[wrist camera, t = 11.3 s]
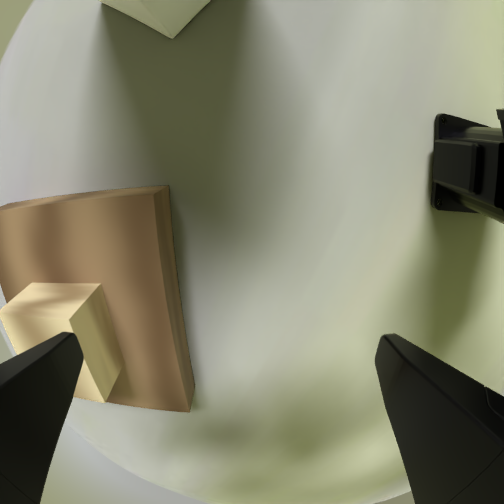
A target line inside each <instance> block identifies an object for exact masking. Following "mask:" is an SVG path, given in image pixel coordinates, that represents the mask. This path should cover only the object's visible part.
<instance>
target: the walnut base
mask: <svg viewBox="0 0 504 504" xmlns="http://www.w3.org/2000/svg"><path fill="white" fill-rule="evenodd" d="M31 283H94V284H101V286H102V290H103V294H104V297H105V301H106V305H107V308H108V312H109V315H110V318H111V322H112V325H113V328H114V331H115V334H116V337H117V340H118V343H119V346H120V349H121V352H122V355H123V358H124V361H125V362H124V364H123V366H122V369H121V371H120V373H119V375H118V377H117V379H116V381H115V383H114V385H113V387H112V390H111V392H110V394H109V396H108V398H107V400H106V402H109V403H115V404H121V405H127V406H134V407H141V408H148V409H157V410H166V411H177V412H190V409H191V403H192V398H193V393H194V388H195V383H194V378H193V373H192V368H191V362H190V357H189V351H188V345H187V339H186V333H185V327H184V320H183V313H182V307H181V300H180V292H179V285H178V277H177V269H176V260H175V251H174V241H173V231H172V220H171V208H170V195H169V185H166V186H151V187H138V188H126V189H115V190H105V191H95V192H86V193H77V194H69V195H62V196H54V197H47V198H40V199H34V200H27V201H21V202H15V203H9V204H6V205H4V206H1V207H0V284H1V288H2V291H3V294H4V297H5V299H6V302H7V303H8V302H9V301H11V300H12V299H13V298H14V297H15V296H16V295H18V294H19V293H20V292H21V291H22V290H24V289H25V288H26V287H27V286H28V285H30V284H31Z"/></svg>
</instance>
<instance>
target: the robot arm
mask: <svg viewBox="0 0 504 504" xmlns="http://www.w3.org/2000/svg"><path fill="white" fill-rule="evenodd" d="M496 111H497V116H498V119H499V120H500V123H501V128H491V127H488V126H485V125H482V124H479V123H476V122H472V121H469V120H466V119H462V118H459V117H455V116H452V115H448V114H438V115H437V116H436V119H435V143H434V165H433V187H432V197H431V205H432V207H433V208H435V209H437V210H445V211H459V212H472V213H481V214H483V215H486V216H488V217H490V218H492V219H494V220H497V221H499V222H501V223H503V224H504V109H496ZM442 118H443V120H444V124H443V123H442ZM438 200H439V204H438V205H437V201H438ZM83 361H84V354H83V351H82V349H81V346H80V343H79V341H78V338H77V336H76V334H75V333H73V332H61V333H59V334H57V335H55V336H53V337H51V338H50V339H48V340H46V341H44V342H42V343H40V344H38V345H36V346H34V347H32V348H30V349H28V350H26V351H24V352H22V353H20V354H19V355H17V356H15V357H13V358H11V359H9V360H7V361H5V362H3V363H2V364H0V504H40V501H41V497H42V493H43V489H44V485H45V482H46V478H47V474H48V471H49V467H50V464H51V461H52V457H53V454H54V451H55V448H56V444H57V442H58V439H59V436H60V433H61V430H62V427H63V424H64V421H65V419H66V416H67V413H68V410H69V408H70V405H71V402H72V399H73V396H74V392H75V389H76V385H77V382H78V378H79V375H80V371H81V368H82V365H83ZM375 366H376V370H377V374H378V378H379V382H380V387H381V391H382V395H383V400H384V404H385V407H386V411H387V414H388V417H389V420H390V423H391V425H392V428H393V431H394V434H395V437H396V441H397V444H398V447H399V450H400V453H401V456H402V460H403V463H404V466H405V469H406V473H407V476H408V480H409V483H410V487H411V490H412V494H413V498H414V501H415V504H504V396H502V395H500V394H498V393H496V392H495V391H493V390H491V389H490V388H488V387H484V385H483V384H481V383H479V382H478V381H476V380H474V379H472V378H471V377H469V376H467V375H466V374H464V373H462V372H460V371H459V370H457V369H455V368H454V367H452V366H450V365H448V364H447V363H445V362H443V361H442V360H440V359H438V358H436V357H435V356H433V355H431V354H430V353H428V352H426V351H424V350H423V349H421V348H419V347H418V346H416V345H414V344H412V343H411V342H409V341H407V340H406V339H404V338H402V337H400V336H399V335H397V334H394V333H393V334H384V335H382V336H381V338H380V341H379V345H378V348H377V352H376V355H375Z"/></svg>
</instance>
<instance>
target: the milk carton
mask: <svg viewBox="0 0 504 504" xmlns="http://www.w3.org/2000/svg"><path fill="white" fill-rule="evenodd" d="M99 1H100V2H102V3H104V4H106V5H108V6H110V7H112V8H115V9H117V10H119V11H121V12H123V13H125V14H127V15H129V16H131V17H133V18H134V19H136V20H138V21H140V22H142V23H144V24H146V25H148V26H149V27H151V28H153V29H155V30H156V31H158V32H160V33H162V34H164V35H165V36H167V37H169V38H171V39H173V38H174V37H175V36H176V35H177V34H178V33H179V32H180V31H181V30H182V29H183V28H184V27H185V25H186V24H187V23H188V22H189V21H190V20H191V19H192V18H193V17H194V16H195V15H196V14H197V13H198V12H199V11H200V10H201V9H202V8H203V7H204V6H205V5H207V4H208V3H209V2H210V1H211V0H99Z"/></svg>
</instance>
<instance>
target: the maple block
mask: <svg viewBox="0 0 504 504" xmlns="http://www.w3.org/2000/svg"><path fill="white" fill-rule="evenodd" d="M0 318H1V321H2V323H3V325H4V328H5V330H6V332H7V335H8V337H9V339H10V341H11V343H12V345H13V347H14V349H15V351H16V353H17V355H19V354H20V353H22V352H24V351H26V350H28V349H30V348H32V347H34V346H36V345H38V344H40V343H42V342H44V341H46V340H48V339H50V338H51V337H53V336H55V335H57V334H59V333H61V332H73V333H75V334H76V336H77V338H78V341H79V343H80V346H81V349H82V351H83V354H84V361H83V365H82V368H81V371H80V375H79V378H78V382H77V385H76V389H75V392H74V396H73V397H77V398H81V399H86V400H91V401H97V402H102V403H106V400H107V398H108V396H109V394H110V392H111V390H112V387H113V385H114V383H115V381H116V379H117V377H118V375H119V373H120V371H121V369H122V366H123V364H124V362H125V361H124V358H123V355H122V352H121V349H120V346H119V343H118V340H117V337H116V334H115V331H114V328H113V325H112V322H111V318H110V315H109V312H108V308H107V305H106V301H105V297H104V294H103V290H102V286H101V284H94V283H31V284H30V285H28V286H27V287H26V288H25V289H24V290H22V291H21V292H20V293H19V294H18V295H16V296H15V297H14V298H13V299H12V300H11V301H9V302H8V303H7V304H6V305H5V306H4V307H3V308H2V309H0Z"/></svg>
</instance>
